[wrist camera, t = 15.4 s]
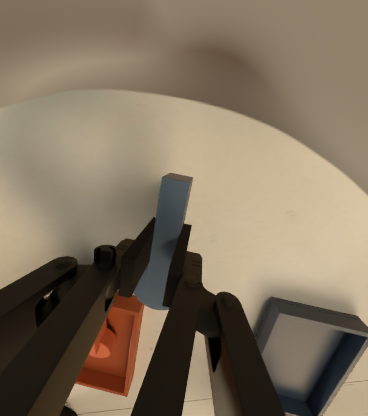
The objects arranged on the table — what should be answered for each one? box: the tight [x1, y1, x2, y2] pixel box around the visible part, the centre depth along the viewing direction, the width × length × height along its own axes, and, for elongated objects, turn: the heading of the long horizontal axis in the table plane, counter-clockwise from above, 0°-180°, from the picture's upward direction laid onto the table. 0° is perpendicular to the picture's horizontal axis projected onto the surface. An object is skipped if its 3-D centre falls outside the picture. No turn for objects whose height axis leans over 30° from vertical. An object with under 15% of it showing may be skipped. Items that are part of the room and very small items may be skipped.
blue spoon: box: [134, 173, 193, 310], centre depth 16 cm, size 12×5×3 cm, turn 169°
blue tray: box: [255, 297, 368, 416], centre depth 25 cm, size 17×11×3 cm, turn 169°
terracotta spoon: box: [89, 319, 116, 358], centre depth 25 cm, size 12×5×3 cm, turn 168°
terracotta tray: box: [75, 292, 144, 397], centre depth 28 cm, size 17×11×3 cm, turn 169°
